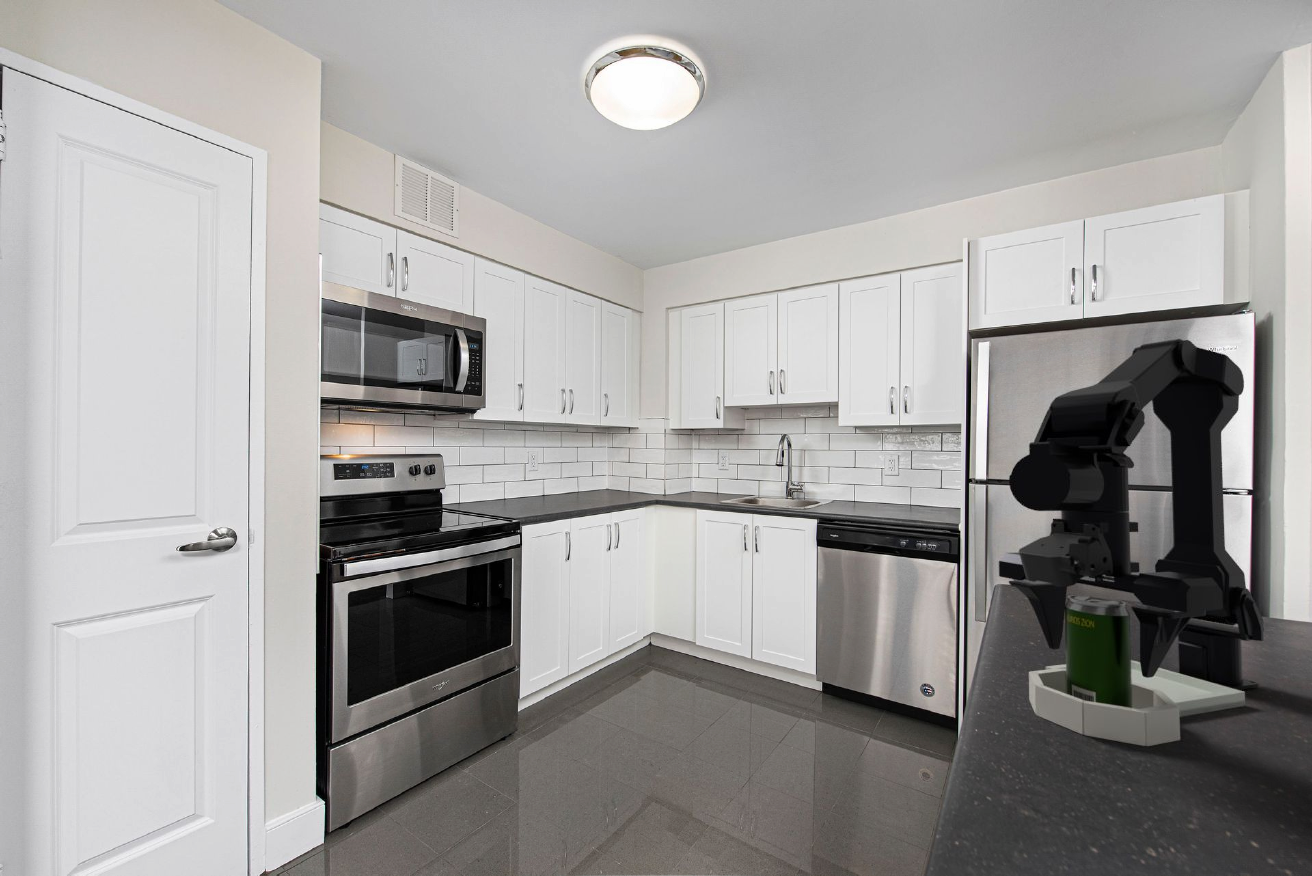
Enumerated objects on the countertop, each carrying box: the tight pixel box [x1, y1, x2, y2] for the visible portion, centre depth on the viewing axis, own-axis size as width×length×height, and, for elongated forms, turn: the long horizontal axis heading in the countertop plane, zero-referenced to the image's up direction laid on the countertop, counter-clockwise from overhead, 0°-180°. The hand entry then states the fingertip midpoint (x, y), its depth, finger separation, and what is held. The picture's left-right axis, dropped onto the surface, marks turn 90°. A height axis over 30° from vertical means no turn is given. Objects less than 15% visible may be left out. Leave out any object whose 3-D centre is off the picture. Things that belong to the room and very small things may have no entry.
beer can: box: [1064, 594, 1132, 708], centre depth 60 cm, size 5×5×12 cm
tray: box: [1045, 659, 1246, 718], centre depth 68 cm, size 14×12×2 cm
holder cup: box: [1028, 668, 1181, 747], centre depth 60 cm, size 12×12×3 cm
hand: (1097, 661), depth 60 cm, fingers open, 9 cm apart
